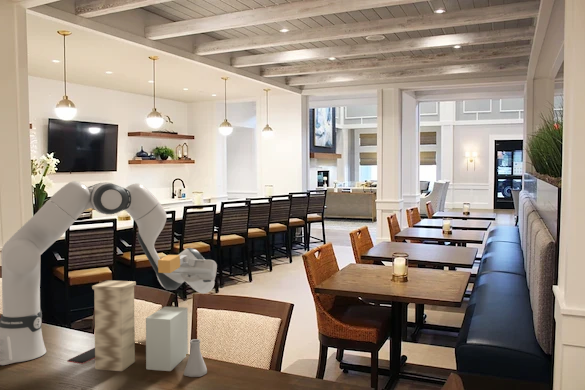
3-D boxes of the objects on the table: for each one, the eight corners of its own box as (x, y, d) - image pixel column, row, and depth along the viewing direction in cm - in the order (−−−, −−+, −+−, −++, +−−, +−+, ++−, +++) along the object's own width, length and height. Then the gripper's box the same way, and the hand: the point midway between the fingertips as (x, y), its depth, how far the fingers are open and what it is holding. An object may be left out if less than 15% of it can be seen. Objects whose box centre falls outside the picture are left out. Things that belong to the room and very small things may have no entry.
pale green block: (146, 369, 156) (145, 318, 156) (165, 353, 170) (164, 306, 169) (170, 371, 155) (170, 319, 154) (187, 355, 169) (187, 307, 168)
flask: (202, 378, 149) (201, 345, 149) (179, 376, 151) (179, 343, 150) (211, 369, 156) (210, 337, 156) (189, 367, 158) (189, 336, 157)
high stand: (93, 369, 156) (92, 285, 155) (108, 359, 164) (107, 280, 163) (123, 371, 154) (122, 287, 153) (136, 361, 163) (135, 281, 162)
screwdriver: (170, 273, 159) (169, 260, 159) (158, 272, 160) (157, 260, 159) (190, 260, 176) (189, 249, 175) (179, 260, 176) (179, 249, 176)
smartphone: (65, 360, 163) (96, 346, 176) (65, 362, 163) (96, 348, 176) (83, 363, 161) (112, 349, 174) (83, 365, 161) (112, 350, 174)
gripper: (168, 262, 188) (153, 249, 176) (221, 264, 184) (210, 250, 172) (164, 279, 185) (150, 266, 173) (218, 281, 181) (207, 268, 169)
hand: (180, 258), depth 172 cm, fingers closed on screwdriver, 2 cm apart
